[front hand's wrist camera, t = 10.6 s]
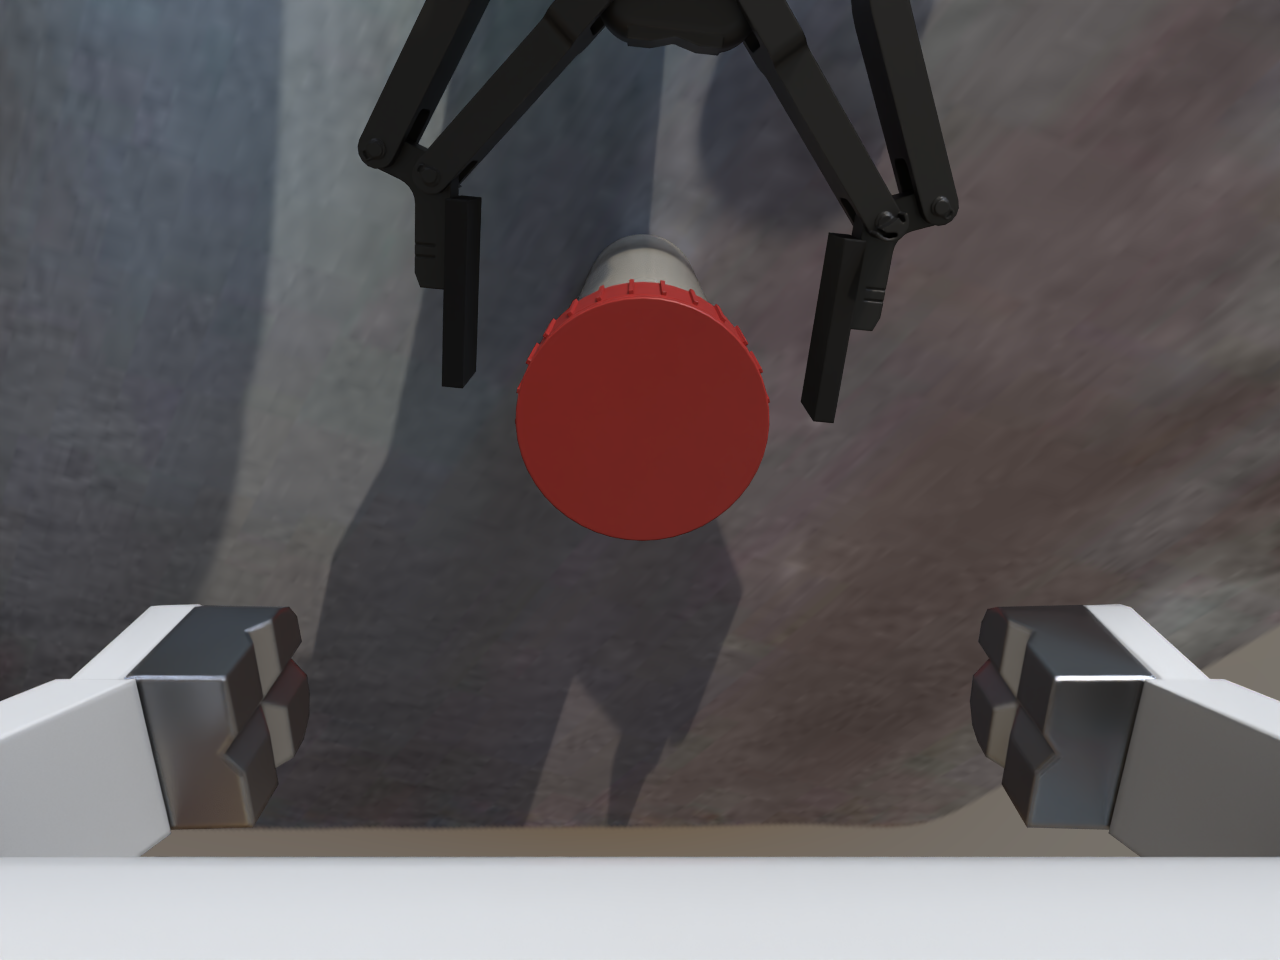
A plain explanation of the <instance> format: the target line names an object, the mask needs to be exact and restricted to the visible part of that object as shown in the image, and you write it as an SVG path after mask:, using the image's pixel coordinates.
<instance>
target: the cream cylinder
mask: <svg viewBox="0 0 1280 960" xmlns="http://www.w3.org/2000/svg"><path fill="white" fill-rule="evenodd" d="M630 279H634V282H653V283H660V280H663V281H665V284H666V285H671V286H675V287H678V288H681V289H684V290H687V291H689V289H692V290H694V292H695V294H696V295H697V296H699V297H701V298H703V299H704V300H705V301H707V300H706V297H705V295H704V293H703V291H702V289H701V286H700V284H699V282H698V280H697V278H696V275H695V273H694V271H693V269H692V267H691V264H690V263H689V261H688V259H687V258H686V256H685V255H684V254H683V253H682V252H681V251H680V250H679V249H678V248H677V247H676V246H675V245H673V244H672V243H670V242H669V241H667V240H665V239H663V238H660V237H657V236H652V235H644V234H640V235H631V236H627V237H624V238H621V239H619V240H617V241H615V242H613V243H612V244H611V245H609V246H608V247H607V248H606V249H605V250H603V251H602V253H601V254H600V255H599V256H598V258H597V259H596V261H595V262H594V264H593V266H592V269H591V271H590V273H589V275H588V277H587V280H586V282H585V284H584V286H583V289H582V291H581V293H580V295H579V298H578V301H579V300H581V299H582V298H584V297H586V296H588V295H590V294H592V293H594V292H596V291H598V290H599V287H600V286H602V285H604V287H605V288H607V287H610V286H613V285H618V284H623V283H629V280H630Z"/></svg>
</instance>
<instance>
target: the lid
mask: <svg viewBox="0 0 1280 960" xmlns="http://www.w3.org/2000/svg"><path fill="white" fill-rule="evenodd" d="M543 337H544V338H543V339H542V341H541V343H540V344H538V343H536V345H535V347H534V348H533V350H532V352H531V354H530V356H529V357H528V359H527V361H526V364H528V368H527V370H526V372H525V374H524V376H523V379H522V381H521V383H520V385H519V386H518V388H517V392H516V393H518V399H517V405H516V419H515V424H516V432H517V440H518V444H519V448H520V452H521V456H522V458H523V461H524V463H525V466H526V468H527V470H528V472H529V474H530V476H531V477H532V479H533V481H534V483H535V484H536V486H537V487H538V488H539V490H540V491H541V492H542V494H543V495H544V496H545V497H546V498H547V499H548V500H549V501H550V502H551V503H552V505H553V506H554V507H555V508H557V509H558V510H559V511H560V512H562V513H563V514H564V515H565V516H567V517H568V518H570V519H571V520H573V521H575V522H576V523H578V524H580V525H581V526H583V527H585V528H588V529H590V530H592V531H594V532H597V533H600V534H603V535H606V536H610V537H614V538H620V539H625V540H639V541H646V540H659V539H665V538H671V537H675V536H678V535H682V534H685V533H688V532H690V531H693V530H695V529H697V528H699V527H702V526H704V525H705V524H707V523H709V522H710V521H712V520H714V519H715V518H717V517H718V516H719V515H721V514H722V513H723V512H724V511H726V510H727V509H728V508H729V507H730V506H731V505H732V504H733V503H734V502H735V501H736V500H737V499H738V498H739V497H740V496H741V495H742V493H743V492H744V491H745V489H746V488H747V487H748V486H749V484H750V482H751V481H752V479H753V477H754V475H755V474H756V472H757V470H758V468H759V465H760V463H761V460H762V458H763V455H764V451H765V448H766V444H767V439H768V431H769V406H768V403H770V401H769V397H768V395H767V393H766V389H765V386H764V383H763V379H762V377H761V374H760V373H762V372H763V371H762V368H761V366H760V365H759V363H758V361H757V359H756V358H755V356H754V354H753V352H752V351H750V352H749V350H748V349H747V347H746V345H748V342H747V341H746V339H745V337H744V335H743V334H742V332H741V330H740V328H739V327H738V326H735V327H734V326H733V325H732V324H731V323H730V321H729V320H728V319H727V318H726V317H725V316H724V315H723V313H722V311H721V309H720V307H719V306H718V305H717V304H716V305H715V306H713V305H711V304H710V303H708V302H707V301H705V300H704V299H703V298H701V297H699V296H697V295H696V294H695V292H694V290H692V289H689V291H687V290H684V289H681V288H678V287H675V286H671V285H666V284H665V281H663V280H660V283H653V282H634V279H630V280H629V283H623V284H618V285H613V286H610V287H607V288H605V287H604V285H602V286H600V287H599V290H598V291H596V292H594V293H592V294H590V295H588V296H586V297H584V298H582V299H581V300H579V301H578V300H577V299H575V300H573V302H572V304H571V306H570V307H569V308H568V309H567V310H566V311H565V312H564V313H563V314H562V315H561V316H560V317H559V318H558V319H557V320H555V319H554V318H553V319H552V320H551V322H550V324H549V325H548V327H547V329H546V331H545V333H544V335H543Z"/></svg>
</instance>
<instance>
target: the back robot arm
mask: <svg viewBox="0 0 1280 960" xmlns="http://www.w3.org/2000/svg"><path fill="white" fill-rule="evenodd" d="M489 1H490V0H426V1H425V3H424V5H423V7H422V9H421V12H420V14H419V16H418V18H417V20H416V22H415V24H414V26H413V28H412V30H411V33H410V35H409V37H408V39H407V41H406V43H405V45H404V47H403V49H402V51H401V53H400V56H399V58H398V60H397V62H396V64H395V66H394V68H393V70H392V72H391V74H390V76H389V79H388V81H387V83H386V85H385V87H384V89H383V91H382V93H381V95H380V97H379V99H378V102H377V104H376V106H375V108H374V110H373V112H372V114H371V116H370V118H369V120H368V122H367V125H366V127H365V129H364V131H363V133H362V135H361V137H360V139H359V143H358V153H359V156H360V157H361V159H362V161H363V162H364V163H365V164H366V165H367V166H369V167H372V168H375V169H380V170H382V171H384V172H386V173H388V174H390V175H392V176H394V177H396V178H398V179H400V180H402V181H403V182H405V183H406V184H407V185H408V186H409V187H410V189H411V190H412V192H413V195H414V198H415V274H416V277H417V280H418V282H419V285H420V287H423V288H433V289H444V298H443V355H442V386H444V387H454V388H463V387H464V386H465V385H466V383H467V382H468V381H469V379H470V378H471V377H472V376H473V374H474V373H475V372H476V354H477V323H478V291H479V259H480V228H481V197H472V196H462V195H461V196H458V195H459V188H460V187H461V185H460V184H461V183H462V182H463V180H464V179H465V178H466V177H467V176H468V175H469V174H470V173H471V172H472V171H473V169H474V168H475V167H476V166H477V165H478V164H479V163H480V162H481V161H482V159H483V158H484V157H485V156H486V155H487V154H488V153H489V152H490V151H491V150H492V148H493V147H494V146H495V145H496V144H497V143H498V142H499V141H500V140H501V138H502V137H503V136H504V135H505V134H506V133H507V132H508V131H509V130H510V129H511V127H512V126H513V125H514V124H515V123H516V122H517V121H518V120H519V119H520V117H521V116H522V115H523V114H524V113H525V112H526V111H527V110H528V109H529V108H530V106H531V105H532V104H533V103H534V102H535V101H536V100H537V99H538V98H539V96H540V95H541V94H542V93H543V92H544V91H545V90H546V89H547V88H548V87H549V85H550V84H551V83H552V82H553V81H554V80H555V79H556V78H557V77H558V75H559V74H560V73H561V72H562V71H563V70H564V69H565V68H566V67H567V66H568V64H569V63H570V62H571V61H572V60H573V59H574V58H575V57H576V56H577V55H578V54H580V53H581V52H582V51H583V50H584V49H585V48H586V47H587V46H588V45H589V44H590V43H591V42H592V41H593V39H594V38H595V37H596V36H597V35H598V34H599V33H600V32H601V31H602V30H603V28H604V27H605V26H606V27H607V28H608V30H609V31H610V32H611V33H612V34H613V35H615V36H616V37H617V38H619V39H620V40H622V41H624V42H627V43H628V46H634V47H643V48H654V47H659V46H664V45H670V44H675V45H677V46H680V47H682V48H685V49H687V50H689V51H692V52H694V53H699V54H709V55H718V54H719V53H720V52H725V51H728V50H730V49H732V48H734V47H736V46H738V45H739V44H740V43H742V42H743V43H744V45H745V47H746V48H747V50H748V52H749V54H750V55H751V57H752V59H753V60H754V62H755V64H756V65H757V67H758V68H759V70H760V71H761V72H762V73H763V74H764V75H765V77H766V78H767V80H768V81H769V83H770V85H771V87H772V88H773V90H774V92H775V93H776V95H777V97H778V99H779V100H780V102H781V104H782V105H783V107H784V109H785V111H786V112H787V114H788V116H789V117H790V119H791V121H792V122H793V124H794V126H795V128H796V129H797V131H798V133H799V134H800V136H801V138H802V140H803V141H804V143H805V145H806V146H807V148H808V150H809V151H810V153H811V155H812V157H813V158H814V160H815V162H816V163H817V165H818V167H819V169H820V170H821V172H822V174H823V175H824V177H825V179H826V181H827V182H828V184H829V186H830V187H831V189H832V191H833V192H834V194H835V196H836V198H837V199H838V201H839V203H840V204H841V206H842V208H843V210H844V211H845V213H846V215H847V216H848V218H849V220H850V221H851V223H852V225H853V231H852V236H851V235H848V234H838V233H829V235H828V241H827V247H826V253H825V259H824V265H823V271H822V277H821V283H820V289H819V295H818V301H817V307H816V313H815V319H814V325H813V331H812V337H811V343H810V349H809V355H808V361H807V367H806V373H805V379H804V385H803V391H802V397H801V403H802V404H803V406H804V408H805V409H806V411H807V412H808V414H809V415H810V417H811V418H812V420H813V421H816V422H827V423H834V418H835V413H836V407H837V401H838V396H839V390H840V385H841V379H842V374H843V368H844V363H845V357H846V352H847V346H848V341H849V335H850V330H851V329H856V330H866V331H872V330H873V329H874V327H875V325H876V324H877V322H878V321H879V319H880V316H881V311H882V306H883V300H884V295H885V289H886V285H887V280H888V275H889V269H890V264H891V259H892V254H893V250H894V247H895V245H896V243H897V241H898V240H899V239H900V238H902V237H903V236H904V235H905V234H906V233H909V232H911V231H914V230H918V229H922V228H926V227H930V226H934V225H937V226H940V225H946V224H947V223H949V222H950V221H952V220H953V218H954V217H955V216H956V214H957V211H958V208H959V205H958V197H957V193H956V189H955V185H954V181H953V177H952V173H951V169H950V165H949V161H948V157H947V152H946V148H945V144H944V140H943V136H942V132H941V128H940V124H939V120H938V116H937V112H936V107H935V103H934V99H933V95H932V91H931V87H930V83H929V79H928V75H927V71H926V67H925V62H924V58H923V54H922V50H921V46H920V42H919V38H918V34H917V30H916V26H915V22H914V18H913V13H912V9H911V5H910V1H909V0H851V5H852V14H853V19H854V24H855V29H856V33H857V36H858V40H859V44H860V48H861V51H862V55H863V59H864V63H865V66H866V70H867V74H868V78H869V81H870V85H871V89H872V93H873V96H874V100H875V104H876V108H877V111H878V115H879V119H880V123H881V126H882V130H883V134H884V138H885V141H886V145H887V149H888V153H889V156H890V160H891V164H892V168H893V171H894V175H895V179H896V183H897V186H898V190H899V194H895V195H891V193H890V192H889V190H888V188H887V186H886V184H885V183H884V181H883V179H882V177H881V176H880V174H879V172H878V170H877V169H876V167H875V165H874V163H873V161H872V160H871V158H870V156H869V154H868V153H867V151H866V149H865V147H864V145H863V144H862V142H861V140H860V138H859V137H858V135H857V133H856V131H855V130H854V128H853V126H852V124H851V122H850V121H849V119H848V117H847V115H846V114H845V112H844V110H843V108H842V107H841V105H840V103H839V101H838V99H837V98H836V96H835V94H834V92H833V91H832V89H831V87H830V85H829V83H828V82H827V80H826V78H825V76H824V75H823V73H822V71H821V69H820V68H819V66H818V64H817V62H816V60H815V59H814V57H813V55H812V53H811V52H810V50H809V48H808V45H807V42H806V38H805V35H804V33H803V31H802V29H801V27H800V25H799V23H798V22H797V20H796V18H795V16H794V14H793V13H792V11H791V9H790V7H789V6H788V4H787V2H786V0H555V1H554V2H553V3H552V5H551V6H550V7H549V9H548V10H547V12H546V14H545V16H544V17H543V19H542V20H541V21H540V22H539V23H538V25H537V26H536V27H535V28H534V29H533V30H532V31H531V32H530V34H529V35H528V36H527V37H526V38H525V39H524V40H523V42H522V43H521V44H520V45H519V46H518V47H517V48H516V50H515V51H514V52H513V53H512V54H511V55H510V56H509V57H508V59H507V60H506V61H505V62H504V63H503V64H502V65H501V67H500V68H499V69H498V70H497V71H496V72H495V73H494V74H493V76H492V77H491V78H490V79H489V80H488V81H487V82H486V84H485V85H484V86H483V87H482V88H481V89H480V90H479V92H478V93H477V94H476V95H475V96H474V97H473V98H472V99H471V101H470V102H469V103H468V104H467V105H466V106H465V107H464V109H463V110H462V111H461V112H460V113H459V114H458V115H457V116H456V118H455V119H454V120H453V121H452V122H451V123H450V124H449V126H448V127H447V128H446V129H445V130H444V131H443V132H442V134H441V135H440V136H439V137H438V138H437V139H436V140H435V141H434V143H433V144H432V145H431V146H430V147H429V148H426V147H424V146H422V145H420V144H418V143H419V141H420V139H421V137H422V135H423V133H424V131H425V129H426V127H427V125H428V123H429V121H430V119H431V117H432V115H433V113H434V111H435V109H436V107H437V105H438V103H439V101H440V99H441V97H442V95H443V93H444V91H445V89H446V87H447V85H448V83H449V81H450V79H451V77H452V75H453V73H454V71H455V69H456V67H457V65H458V63H459V61H460V59H461V57H462V55H463V53H464V51H465V49H466V47H467V45H468V43H469V41H470V39H471V37H472V35H473V33H474V31H475V29H476V27H477V25H478V23H479V21H480V19H481V17H482V15H483V13H484V11H485V9H486V7H487V5H488V3H489Z"/></svg>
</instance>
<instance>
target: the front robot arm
mask: <svg viewBox="0 0 1280 960" xmlns="http://www.w3.org/2000/svg"><path fill="white" fill-rule="evenodd" d="M301 642H302V640H301V635H300V630H299V625H298V619H297V616H296V615H295V613H294V612H293V611H292V610H291V608H290V607H274V606H220V605H204V606H201V605H199V604H188V605H160V606H150V607H149V608H148V609H147V610H146V611H145V612H144V613H143V614H142V615H141V616H139V617H138V618H137V619H136V620H135V621H134V622H133V623H132V624H131V625H129V626H128V627H127V628H126V629H125V630H124V631H123V632H122V633H121V634H120V635H118V636H117V637H116V638H115V639H114V640H113V641H112V642H111V643H110V644H108V645H107V646H106V647H105V648H104V649H103V650H102V651H101V652H100V653H99V654H97V655H96V656H95V657H94V658H93V659H92V660H91V661H90V662H89V663H87V664H86V665H85V666H84V667H83V668H82V669H81V670H80V671H79V672H78V673H76V674H75V675H74V676H73V677H72V678H71V679H55V680H52V681H50V682H47V683H45V684H42V685H40V686H37V687H35V688H32V689H30V690H27V691H25V692H22V693H20V694H17V695H15V696H12V697H10V698H7V699H5V700H2V701H0V960H1280V701H1278V700H1275V699H1273V698H1270V697H1268V696H1265V695H1263V694H1260V693H1258V692H1255V691H1253V690H1250V689H1248V688H1245V687H1243V686H1240V685H1238V684H1235V683H1233V682H1230V681H1228V680H1225V679H1209V678H1208V677H1207V676H1206V675H1205V674H1204V673H1203V672H1201V671H1200V670H1199V669H1198V668H1197V667H1196V666H1195V665H1194V664H1193V663H1192V662H1190V661H1189V660H1188V659H1187V658H1186V657H1185V656H1184V655H1183V654H1182V653H1181V652H1179V651H1178V650H1177V649H1176V648H1175V647H1174V646H1173V645H1172V644H1171V643H1170V642H1168V641H1167V640H1166V639H1165V638H1164V637H1163V636H1162V635H1161V634H1160V633H1158V632H1157V631H1156V630H1155V629H1154V628H1153V627H1152V626H1151V625H1150V624H1149V623H1147V622H1146V621H1145V620H1144V619H1143V618H1142V617H1141V616H1140V615H1139V614H1138V613H1136V612H1135V611H1134V610H1133V609H1132V608H1131V607H1128V606H1124V605H1121V604H1109V605H1086V606H1083V605H1058V606H1016V607H995V608H990V609H987V611H986V613H985V615H984V618H983V620H982V622H981V628H980V634H979V640H978V642H979V644H980V645H981V647H982V648H983V650H984V651H985V653H986V654H987V656H988V657H989V659H988V660H987V661H986V662H985V663H984V664H983V665H982V666H981V667H980V669H979V670H978V671H977V672H976V673H975V674H974V675H973V679H972V688H971V696H970V707H971V717H972V726H973V729H974V732H975V735H976V738H977V741H978V743H979V745H980V747H981V749H982V751H983V752H984V754H985V756H986V757H987V758H989V759H990V760H992V761H993V762H995V763H997V764H998V765H1000V766H1002V767H1003V768H1004V773H1003V779H1002V786H1003V787H1004V789H1005V791H1006V792H1007V794H1008V796H1009V797H1010V799H1011V801H1012V803H1013V804H1014V806H1015V808H1016V809H1017V811H1018V813H1019V815H1020V816H1021V818H1022V820H1023V821H1024V823H1025V825H1026V826H1027V827H1031V828H1068V829H1105V830H1109V834H1111V835H1112V836H1113V837H1114V838H1116V839H1117V840H1118V841H1120V842H1121V843H1123V844H1124V845H1125V846H1127V847H1128V848H1129V849H1131V850H1132V851H1133V852H1135V853H1136V854H1137V855H1139V856H1140V857H140V856H142V855H143V854H144V853H146V852H147V851H148V850H150V849H151V848H152V847H154V846H155V845H156V844H158V843H159V842H160V841H162V840H163V839H164V838H166V837H167V836H169V835H170V834H171V830H175V829H211V828H246V827H254V825H255V823H256V821H257V820H258V818H259V816H260V815H261V813H262V811H263V810H264V808H265V806H266V804H267V803H268V801H269V799H270V798H271V796H272V794H273V792H274V791H275V789H276V787H277V786H278V779H277V773H276V768H277V767H279V766H280V765H282V764H283V763H285V762H287V761H288V760H290V759H291V758H293V757H294V756H295V754H296V752H297V750H298V749H299V747H300V745H301V743H302V741H303V739H304V735H305V731H306V727H307V723H308V719H309V706H310V693H309V686H308V679H307V675H306V674H305V673H304V672H303V671H302V670H301V669H300V667H299V666H298V665H297V664H296V663H295V662H294V661H293V660H292V659H291V658H292V656H293V654H294V653H295V651H296V650H297V648H298V647H299V645H300V644H301Z"/></svg>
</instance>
